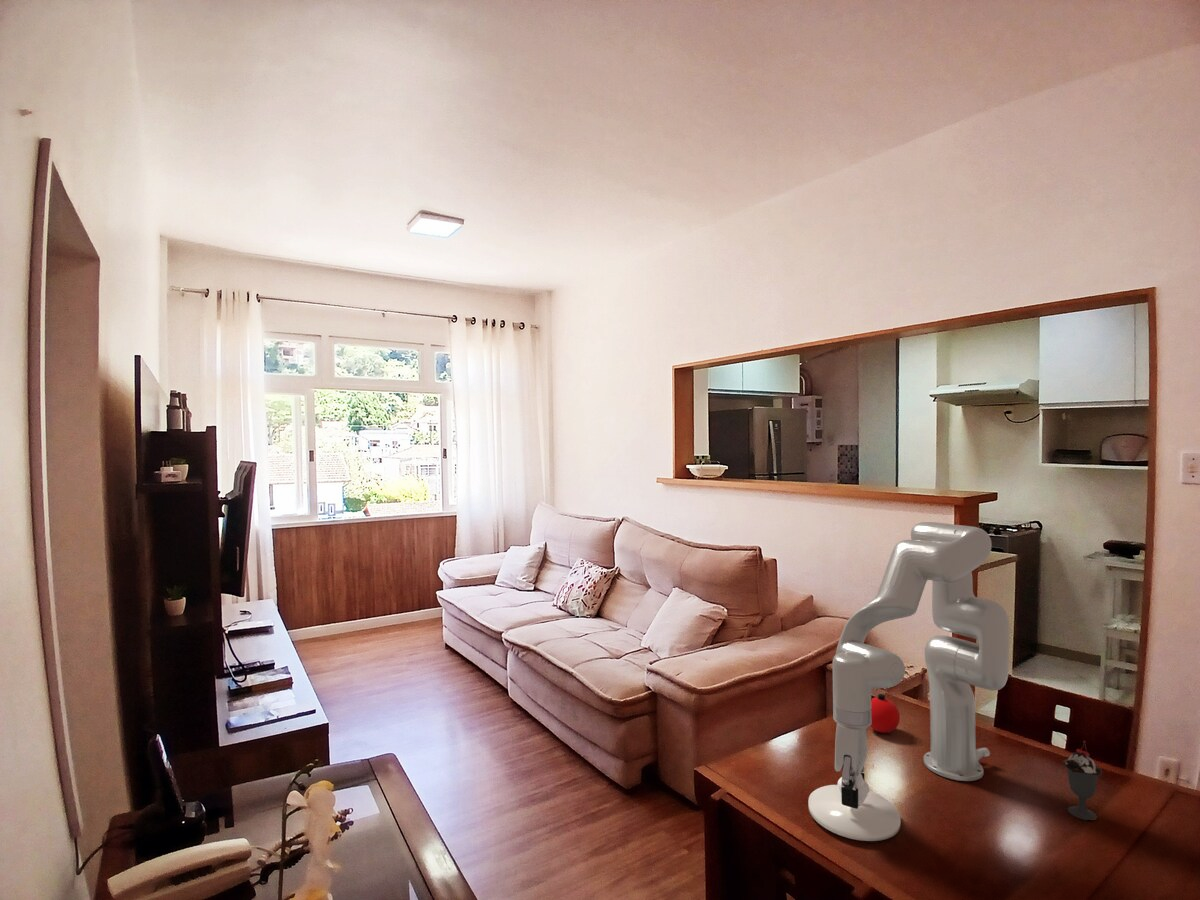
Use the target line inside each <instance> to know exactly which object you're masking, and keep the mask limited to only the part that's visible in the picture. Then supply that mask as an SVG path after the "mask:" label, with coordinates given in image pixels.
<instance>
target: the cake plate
mask: <svg viewBox="0 0 1200 900" xmlns="http://www.w3.org/2000/svg"><path fill="white" fill-rule="evenodd" d="M867 795H868V796H867V797H866V799H865V800H864V802H863V804H862V805H861V806H859V807H858V808H857V809H855V808H852V807H848V806H845V805H843V804H842V799H841V792H840V790H839V787H838V784H828V785H824V786H821V787H817V788H816V789H815V790H814V791H812V792H811V793H810V794H809V796H808V799H807V800H808V805H807V806H808V812H809V814H810V815H811V817H812V819H814V821H816V822H817V824H819V825H820V826H821V827H823V828H825V829H826V830H828V831H830V832H831V833H833V834H836V835H838V836H841V837H843V838H847V839H851V840H856V841H862V842H864V841H865V842H878V841H883V840H884V841H885V840H888V839H890V838H892V837H894V836H895V835H897V834H898V833H899V831H900V829H901V815H900V812H899V810H898V809H897V807H896V806H895V805H894V803H892V802H891V801H890V800H888V799H887V798H885V797H884V796H882V795H880V794H878V793H876V792H874V791H872V790H869V792H868V794H867Z"/></svg>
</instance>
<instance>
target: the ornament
mask: <svg viewBox="0 0 1200 900" xmlns="http://www.w3.org/2000/svg"><path fill="white" fill-rule="evenodd" d="M899 711H900V710H898V708H897V706H896V704H895V703H894V702H893V701H891V700H890V699H888V698H886V696H885V695H884V694H883V693H882V694H881V693H879V694H878V695H877V696H876V697H871V721H872V724H871V726H869V727H870V728H871V729H872V730H874V731H876V732H877V733H883V734H887V733H891V732H893V731H894V730H896V729H897V728H898V726H899V724H900V719H901V718H900V717H901V715H900V712H899Z"/></svg>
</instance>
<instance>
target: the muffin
mask: <svg viewBox="0 0 1200 900" xmlns="http://www.w3.org/2000/svg"><path fill="white" fill-rule="evenodd" d="M850 772H853V773H854V770H852V769H851V771H850ZM861 773H862V772H861ZM861 773H860V775H858V776H857V789H858V807H859V806H861V805H862V804H863V802H864V800H865V799H866V797H867V796H868V795H867V794H868V792H869V791H870V787H869V784H868V783H867V781H865V778H864V779H863V778H862V775H861ZM850 780H852V781H853V776H850ZM841 784H842V776H841V777H840V778H839V779H838V781H837V785H838V787H839V790H840V792H841Z"/></svg>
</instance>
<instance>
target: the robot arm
mask: <svg viewBox="0 0 1200 900" xmlns="http://www.w3.org/2000/svg"><path fill="white" fill-rule="evenodd" d="M992 546H993V545H992V538H991V537H990V535H989V534H988V532H987V531H986V530H984V529H983V528H980V527H976V526H971V525H961V524H953V523H952V524H951V523H945V522H933V521H923V522H919V523H915V525H913V527H911V529H910V539H902V540H900V541H898V542H897V543H895V546H894V547H893V548H892V549H893V550H892V551H891V554H890V556H889V557H890V558H889V560H888V563H887V565H886V568H885V571H884V574H883V575H882V579H881V582H880V585H879V587H878V591H877V594H876V596H874V598H873V599H872V600H870V601H869V602H867V603H866V604H864V605H862V606H861V607H859V609H857V611H856V612H855V613H854V614H852V615H851V617H850V618H849V619H848V620H847V621H846V623H845V624H844V626H843V629H842V632H841V634H840V637H839V640H838V643H837V646H836V650H835V655H834V656H833V658H832V664H831V665H832V712H833V713H832V715H833V716H832V717H833V719H832V720H833V721H834V722H835V723H836V730H835V741H834V743H835V744H834V771H836V772H841V777H842V784H841V799H842V804H843V805H845V806H848V807H852V808H855V809H857V808H858V789H857V776H858V775H860V773H861V775H862V778H863V779H864V780H865V773H864V771H865V763H866V760H867V755H868V731H867V728H869V727H870V726H871V724H872V721H871V699H872V690H874V689H889V688H893V687H895V686H897V685H899V684H901V682H902V681H903V679H904V677H905V674H906V666H905V663H904V661H903V660H902V658H900V657H899V655H897V654H896V653H893V652H892V651H889V650H886V649H882V648H880V647H876V646H873V645H870V644H867V643H864V642H865V640H866V637H867V636H868V634H869V633H870V632H871V631H872V630H873V629H874V628H876V627H877V626H879V625H881V624H883V623H885V622H891V621H894V620H897V619H903V618H908V617H912V616H913V615H915V613H917V610H918V608H919V604H920V601H921V598H922V595H923V592H924V589H925V587H926V583H927V582H928V581H932V583H931V584H932V589H931V590H932V593H931V594H932V595H931V600H932V601H931V602H932V603H931V607H932V609H931V611H932V612H931V615H932V621H933V623H934V624H935V626H936V627H937V628H939V629H941V630H942V631H945V632H949V633H952V634H956V635H959V636H964V637H967V638H971V639H975V640H977V642H972V641H969V640H966V639H961V638H958V637H954V636H949V635H941V634H940V635H936V636H933V637H931V638H930V639H928V640H927V642H926V644H925V646H924V652H923V653H924V660H925V664H926V665H925V666H926V669H927V675H928V683H929V684H928V685H929V716H930V717H929V719H930V721H929V726H930V727H929V730H930V732H929V733H930V734H929V735H930V737H929V738H930V751H927V752H926V753H925V754H924V755H923V763H924V765H925V766H926V768H927V769H929V770H930V771H932V772H933V773H934V774H935V775H939V776H941V777H943V778H947V779H948V780H955V781H960V782H973V781H977V780H980V779H982V778H983V776H984V767H983V766H982V764H981V763H980V762H979V760H981V759H982V758H985V757H990V755H991V751H990V750H989V748H987V747H980V748H976V699H975V696H974V692H973V690H972V687H971V686H974V687H977V688H981V689H984V690H988V691H994V692H995V691H999V690H1001V689H1003V688H1004V687H1005V686H1006V683H1007V681H1008V678H1009V674H1010V673H1009V671H1010V619H1009V616H1008V612H1007V611H1006V609H1005V607H1004V606H1003V605H1001V604H1000V603H999V602H997V601H995V600H992V599H988V598H982V597H977V596H975V594H974V590H973V589H974V588H973V587H974V586H973V581H974V580H973V573H972V572H973V571H974V570H976V569H977V568H979V567H980V566H981V565H983V564H984V563H985V562H986V561H987V559H989V557H990V554H991V551H992ZM851 769H852V770H854V773H853V772H850V771H851ZM841 770H842V771H841ZM850 776H853V781H852V780H850Z"/></svg>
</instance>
